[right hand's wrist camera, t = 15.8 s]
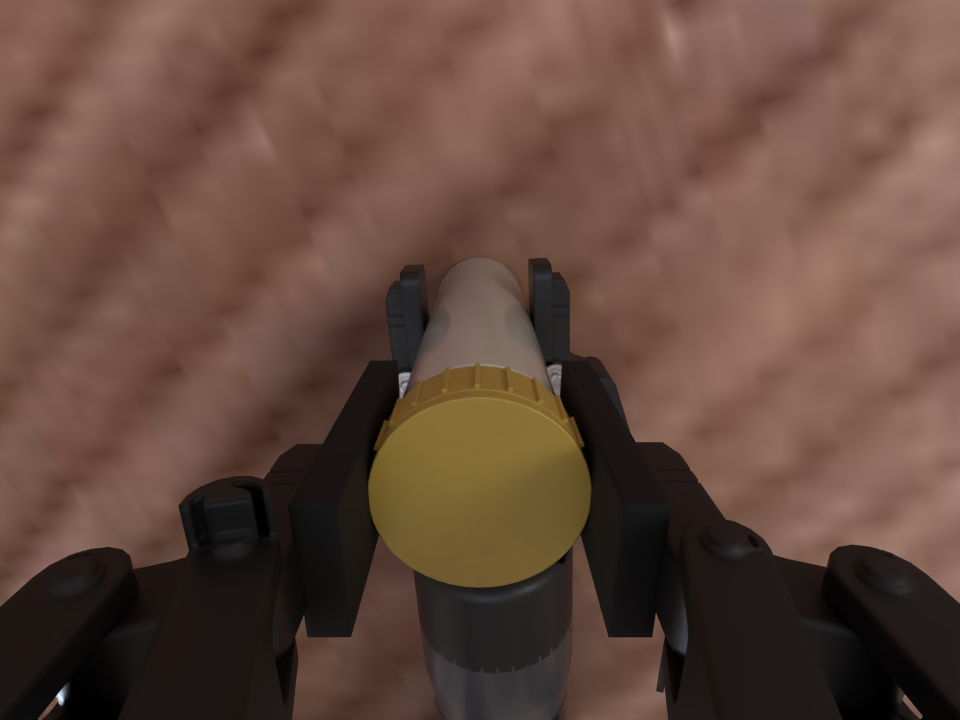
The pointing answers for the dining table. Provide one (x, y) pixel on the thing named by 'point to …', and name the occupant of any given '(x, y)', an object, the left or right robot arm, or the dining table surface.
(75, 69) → the dining table surface
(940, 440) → the dining table surface
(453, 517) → the lid
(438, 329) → the beige bottle
